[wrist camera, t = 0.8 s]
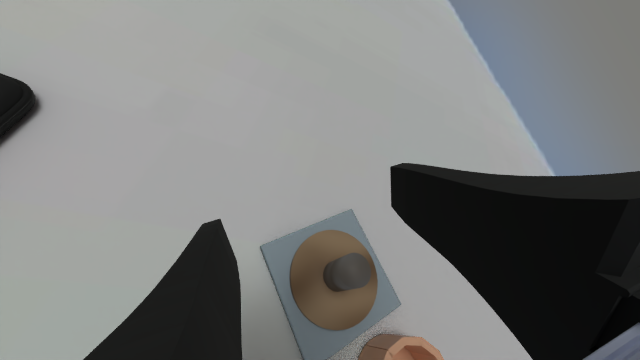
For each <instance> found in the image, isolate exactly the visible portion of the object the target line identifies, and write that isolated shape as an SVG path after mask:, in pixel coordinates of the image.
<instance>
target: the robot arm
mask: <svg viewBox="0 0 640 360" xmlns="http://www.w3.org/2000/svg"><path fill="white" fill-rule="evenodd" d="M391 207H392V208H393V209H394V210H395V212H396V213H397V214H398V215H399V216H400V217H401V219H402V220H403V221H404V222H405V223H406V224H407V225H408V226H409V227H410V228H411V229H413V230H414V231H415V232H416V233H417V234H418V235H419V236H421V237H422V238H423V239H424V240H425V241H426V242H427V243H429V244H430V245H431V246H432V247H433V248H434V249H436V250H437V251H438V252H439V253H440V254H441V255H442V256H444V257H445V258H446V259H447V260H448V261H449V262H450V263H451V264H452V265H453V266H454V267H455V268H456V269H457V270H458V271H459V272H460V273H461V274H462V275H463V276H464V277H465V278H466V280H467V281H468V282H469V283H470V284H471V285H472V286H473V287H474V288H475V289H476V290H477V292H478V293H479V294H480V295H481V296H482V297H483V298H484V300H485V301H486V302H487V303H488V304H489V305H490V306H491V308H492V309H493V310H494V311H495V312H496V314H497V315H498V316H499V317H500V318H501V320H502V321H503V322H504V323H505V325H506V326H507V327H508V328H509V329H510V331H511V332H512V333H513V334H514V336H515V337H516V338H517V339H518V341H519V342H520V343H521V345H522V346H523V347H524V349H525V350H526V351H527V353H528V354H529V355H530V356H531V358H532V359H533V360H640V171H637V172H626V173H616V174H601V175H583V176H514V175H497V174H486V173H477V172H469V171H461V170H454V169H447V168H441V167H434V166H427V165H420V164H411V163H401V164H398V165H395V166H392V167H391ZM83 360H242V347H241V292H240V279H239V272H238V266H237V260H236V258H235V255H234V253H233V250H232V248H231V245H230V242H229V240H228V237H227V235H226V232H225V230H224V227H223V225H222V222H221V220H220V219H217V220H214V221H211V222H208V223H204V224H202V226H201V227H200V228H199V230H198V231H197V232H196V234H195V235H194V237H193V238H192V240H191V241H190V243H189V244H188V245H187V247H186V248H185V250H184V251H183V252H182V254H181V255H180V256H179V258H178V259H177V261H176V262H175V263H174V264H173V266H172V267H171V268H170V269H169V271H168V272H167V273H166V274H165V276H164V277H163V278H162V279H161V281H160V282H159V283H158V284H157V286H156V287H155V288H154V289H153V290H152V292H151V293H150V294H149V295H148V296H147V297H146V298H145V299H144V300H143V302H142V303H141V304H140V305H139V306H138V307H137V308H136V309H135V310H134V311H133V312H132V313H131V314H130V315H129V316H128V317H127V318H126V319H125V320H124V321H123V322H122V323H121V324H120V325H119V326H118V327H117V328H116V329H115V330H114V331H113V332H112V333H111V334H110V335H109V336H108V337H107V338H106V339H105V340H103V341H102V342H101V343H100V344H99V345H98V346H97V347H96V348H95V349H94V350H93V351H92V352H91V353H90V354H89V355H88V356H87V357H85V358H84V359H83Z"/></svg>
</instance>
